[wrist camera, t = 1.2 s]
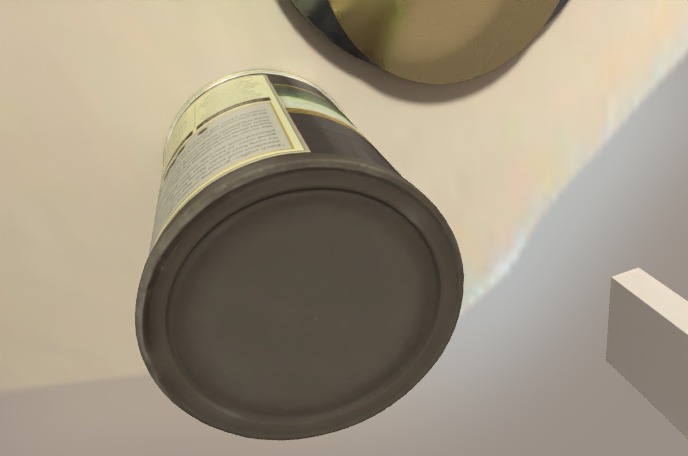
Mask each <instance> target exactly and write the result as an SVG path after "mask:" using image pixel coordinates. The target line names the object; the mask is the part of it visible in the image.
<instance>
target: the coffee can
mask: <svg viewBox="0 0 688 456" xmlns="http://www.w3.org/2000/svg"><path fill="white" fill-rule="evenodd" d="M463 281H464V273H463V264H462V259H461V255H460V251H459V247H458V244H457V241H456V239H455V236H454V234H453V232H452V230H451V228H450V227H449V225H448V223H447V221H446V220H445V218H444V217H443V215H442V214H441V213H440V212H439V210H438V209H437V207H436V206H435V205H434V204H433V203H432V202H431V201H430V200H429V199H428V198H427V197H426V196H425V195H424V194H423V193H422V192H420V191H419V190H418V189H417V188H416V187H415V186H414V185H412V184H411V183H410V182H408V181H407V180H406V179H404V178H403V177H402V176H401V175H400V174H399V173H398V172H397V171H396V170H395V169H394V168H393V167H392V165H391V164H390V163H389V162H388V161H387V160H386V159H385V158H384V157H383V156H382V155H381V154H380V153H379V152H378V150H377V149H376V148H375V147H374V146H373V145H372V144H371V143H370V142H369V141H368V140H367V139H366V138H365V137H364V135H363V134H362V133H361V132H360V131H359V130H358V129H357V128H356V127H355V126H354V125H353V124H352V123H351V122H350V120H349V119H348V118H347V117H346V116H345V115H344V114H343V112H342V111H341V109H340V108H339V107H338V105H337V104H336V103H335V102H334V101H333V100H332V99H331V98H330V97H329V96H328V95H327V94H326V93H325V92H324V91H322V90H321V89H320V88H318V87H317V86H315V85H314V84H312V83H311V82H309V81H307V80H305V79H302V78H300V77H297V76H295V75H292V74H288V73H284V72H279V71H273V70H249V71H243V72H239V73H234V74H231V75H228V76H225V77H223V78H221V79H218V80H216V81H214V82H213V83H211V84H209V85H208V86H206V87H204V88H203V89H202V90H200V91H199V92H198V93H196V94H195V95H194V96H193V97H192V98H191V99H189V100H188V101H187V103H186V104H185V105H184V106H183V107H182V109H181V111H180V112H179V114H178V115H177V117H176V118H175V120H174V122H173V124H172V126H171V128H170V131H169V134H168V136H167V139H166V143H165V148H164V156H163V173H162V179H161V185H160V190H159V196H158V204H157V210H156V216H155V222H154V229H153V235H152V241H151V247H150V253H149V257H148V259H147V262H146V264H145V266H144V270H143V273H142V277H141V280H140V284H139V288H138V293H137V299H136V312H135V326H136V336H137V341H138V346H139V349H140V353H141V356H142V358H143V360H144V362H145V365H146V367H147V369H148V371H149V373H150V375H151V377H152V378H153V379H154V381H155V382H156V384H157V385H158V386H159V388H160V389H161V390H162V392H163V393H164V394H165V395H166V396H167V397H168V398H169V399H170V400H171V401H172V402H173V403H174V404H176V405H177V406H178V407H179V408H181V409H182V410H183V411H185V412H186V413H188V414H189V415H191V416H192V417H194V418H196V419H198V420H199V421H201V422H203V423H205V424H207V425H209V426H212V427H214V428H217V429H220V430H223V431H225V432H228V433H232V434H235V435H239V436H243V437H247V438H255V439H266V440H294V439H302V438H309V437H314V436H319V435H324V434H328V433H332V432H335V431H339V430H342V429H345V428H348V427H350V426H353V425H356V424H358V423H360V422H363V421H365V420H366V419H369V418H371V417H373V416H375V415H376V414H378V413H379V412H382V411H383V410H385V409H386V408H387V407H389V406H391V405H392V404H393V403H395V402H396V401H397V400H399V399H400V398H401V397H403V396H404V395H405V394H407V392H408V391H410V390H411V389H412V388H413V387H414V386H415V385H416V384H417V383H418V382H419V381H420V380H421V379H422V378H423V377H424V376H425V375H426V374H427V373H428V371H429V370H430V369H431V368H432V367H433V365H434V364H435V363H436V362H437V360H438V359H439V357H440V356H441V354H442V353H443V351H444V349H445V348H446V346H447V344H448V342H449V341H450V338H451V336H452V333H453V331H454V329H455V327H456V323H457V320H458V317H459V313H460V309H461V303H462V297H463Z"/></svg>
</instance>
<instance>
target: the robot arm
mask: <svg viewBox="0 0 688 456" xmlns="http://www.w3.org/2000/svg"><path fill="white" fill-rule="evenodd" d="M609 305H610V306H609V320H608V337H607V352H606V360H607V362H609V363H610V364H611V365H612V366H613V367H614V368H615V369H616V370H617V371H618V372H619V373H620V374H621V375H622V376H623V377H624V378H625V379H626V380H627V381H629V383H630V384H632V386H634V387H635V388H636V389H637V390H638V391H639V392H640V393H641V394H642V395H643V396H644V397H645V398H646V399H647V400H648V401H649V402H650V403H651V404H652V405H653V406H654V407H655V408H656V409H657V410H658V411H660V412H661V413H662V414H663V415H664V416H665V417H666V418H667V419H668V420H669V421H670V422H671V423H672V424H673V425H674V426H675V427H676V428H677V429H678V430H679V431H680V432H682V434H683V435H684V436H686V437H687V438H688V301H686V300H685V299H683V298H682V297H680V296H679V295H677V294H676V293H675V292H673V291H672V290H670V289H669V288H667V287H666V286H664V285H663V284H662V283H660V282H659V281H657V280H656V279H654V278H653V277H651V276H650V275H649V274H647V273H645V272H644V271H642V270H641V269H640V268H637V269H633V270H630V271H627V272H624V273H621V274H618V275H615V276H612V277H611V289H610V304H609Z"/></svg>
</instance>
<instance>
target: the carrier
mask: <svg viewBox="0 0 688 456" xmlns="http://www.w3.org/2000/svg"><path fill="white" fill-rule="evenodd" d="M291 2H292V3H293V5H294V6H295V7H296V8H297V9H298V10H299V12H300V13H301V14H302V15H303V16H304V17H305V18H306V19H307V20H308V22H309V23H310V24H311V25H312V26H314V27H315V28H316V29H317V30H318V31H319V32H321V33H322V34H323V35H324V36H325V37H326V38H328V39H329V40H330V41H332V42H333V43H335V44H336V45H338V46H339V47H341V48H343V49H344V50H346V51H347V52H349V53H350V54H352V55H353V56H355V57H358V58H360V59H362V60H364V61H366V62H369V63H371V64H373V65H375V66H379V67H381V68H383V69H384V70H386V71H388V72H390V73H392V74H394V75H397V76H399V77H401V78H404V79H408V80H411V81H414V82H420V83H427V84H450V83H457V82H463V81H466V80H470V79H473V78H477V77H479V76H481V75H484V74H486V73H488V72H491V71H493V70H494V69H496V68H498V67H499V66H501V65H503V64H504V63H506V62H507V61H509V60H510V59H511V58H513V57H514V56H515V55H517V54H518V53H519V52H520V51H521V50H522V49H524V48H525V47H526V46H527V45H528V44H529V43H530V42H531V41H532V40H533V39H534V37H535V36H536V35H537V34H538V33H539V31H540V30H541V29H542V28H543V27H544V26H545V25H546V24H547V23H548V22H549V21H550V20H551V19H552V18H553V17H554V16H555V15H556V14H557V13H558V12H559V11H560V10H561V9H562V7H563V6H564V5H565V4H566V3H567V2H568V0H291Z"/></svg>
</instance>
